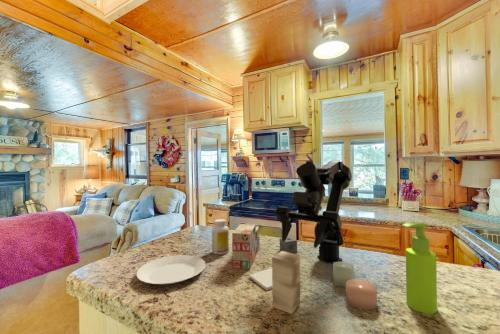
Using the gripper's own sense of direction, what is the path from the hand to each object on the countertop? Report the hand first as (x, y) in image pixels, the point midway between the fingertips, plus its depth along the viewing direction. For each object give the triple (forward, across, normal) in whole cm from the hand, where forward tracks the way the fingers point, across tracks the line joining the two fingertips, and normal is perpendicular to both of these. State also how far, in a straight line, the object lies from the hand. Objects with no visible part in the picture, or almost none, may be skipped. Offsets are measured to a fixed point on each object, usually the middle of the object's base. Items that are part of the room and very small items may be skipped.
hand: (298, 243), depth 62 cm
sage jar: (0, +8, +18) cm, 20 cm away
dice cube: (-9, -16, +27) cm, 33 cm away
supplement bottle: (+3, -38, +16) cm, 41 cm away
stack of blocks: (+1, -26, +18) cm, 32 cm away
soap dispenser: (+2, +26, +17) cm, 31 cm away
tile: (+8, -10, +10) cm, 16 cm away
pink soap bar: (+6, +15, +13) cm, 20 cm away
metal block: (+14, 0, +4) cm, 15 cm away
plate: (+19, -38, 0) cm, 42 cm away
